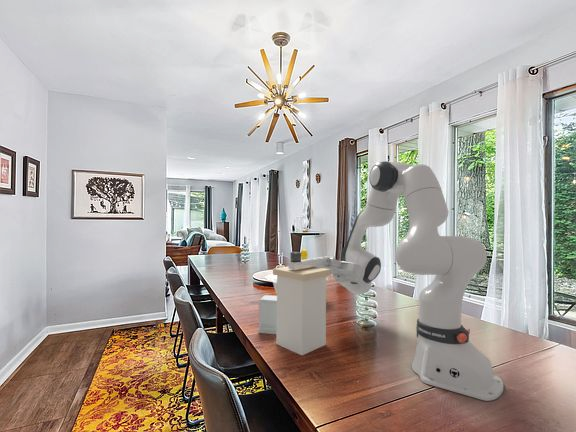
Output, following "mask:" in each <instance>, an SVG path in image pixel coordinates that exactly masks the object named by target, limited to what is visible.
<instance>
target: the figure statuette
mask: <svg viewBox="0 0 576 432" xmlns="http://www.w3.org/2000/svg"><path fill="white" fill-rule="evenodd" d="M303 259H308V251H307V249H302V250H301V260H303Z"/></svg>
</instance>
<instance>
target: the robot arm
mask: <svg viewBox="0 0 576 432" xmlns="http://www.w3.org/2000/svg"><path fill="white" fill-rule="evenodd" d="M368 178H369V184H370V186H371V188H370V190H369V194H368V198H367V202H366V205H365V207H364V209H363V210H362V211H360V212H359V213H358V214H357V216H356V218H355V220H354V222H353V225H352V228H351V230H350V233H349V236H348V239H347V242H346V244H345V245H344V247H343V248H342V250H341V253H340V254H341V255H340V256H341V260H338V259H336V258H335V259H334V258H330V260H329V262H330V263H331V264H328V265H322V266H316V267H320V268H326V269H331V275H332V277H333V280H335V282H337V283H338V284H339V285H340V286H342V287H344V288H345V289H346V290H348V291H349V292H350V293H353V294H355V295H357V296H358V295H359V296H361V295H360V294H364V293H366V292H368V291H369V292H370V290H371V289H372V288H371V287H372V282H373V281H374V280H375V279H376V278H378V276H379V274H380V273H381V269H382V262H381V259H380V257H378V256H377V255H375V254H373V253H371V252H369V251H368V250H366V249H364V248H363V246H362V244H361V243H362V241H363V238H364V235H366V234H365V233H366V232H367V229H368V228H371V227H372V228H373V227H375V228H376V227H384V226H386V225H388V224H390V222H392V221H393V218H394V215H395V213H396V209H397V205H398V199H399V197H400V196H402V195H403V196H404V200H405V201H404V202H405V205H406V209H407V214H408V221H409V222H408V223H409V225H408V230H407V233H406V235H404V237H403V238H402V239H401V240H400V241H399V242H398V244H397V246H396V248H395V252H394V253H395V255H394V256H395V261H396V264H397V266H399V268H400V270H402V271H403V272H405V273H408V274H414V275H420V276H434V275H435V276H434V278H433V280H432V282H431V283H430V284H428V285H427V286H425V287H424V288H422V289H421V290H420V293H419V294H418V318H417V320H416V326H415V328H416V329H415V331H416V338H417V341H416V348H415V352H414V353H415V354H414V358H413V360H412V363H411V368H412V370H413V371H414V372H415V374H417V375H418V376H419V378H420V380H421V382H423V383H424V384H427V385H430V386H434V387H436V388H440V389H443V390H447V391H451V392H453V393H458V394H461V395H464V396H466V397H467V396H468V397H471V398H475V399H478V400H481V401H485V402H486V401H487V402H489V401H490V402H491V401H494V400H497V399H498V398H499V397H501V395H502V394H503V392H504V383H503V381H502V379H501V378H500V377H499V376H497V375H494V371H493V370H494V368H493V365H492V363H491V362H492V361H491V360H490V359H489V357H488V356H487V355H485V354H484V353H483V352H482V351H480V350H479V349H478V348H477V347H476V346H475V345H474V344H473V343H472V342H471V341H470V340H469V339H470V334H471V329H470V328H468V329H467V328H466V327H464V326H463V324H462V310H463V300H464V295H465V292H466V290H467V287H468V286H469V283H470V282H471V280H472V279H473V278H474V276H475V275H476V274H477V273H478V272H480V271H481V270H483V268H484V267H485V266H486V263H487V257H488V256H487V250H486V248H485V246H484V244H483V243H482V242H481V241H480V240H479V239H476V238H471V237H467V236H462V235H454V236H453V235H452V236H450V235H449V236H448V235H446V236H445V235H440V234H439V230H438V229H439V228H438V227H440V226H441V225H444V223H445V222H446V221H447V219H448V217H449V213H450V212H449V208H448V205H447V202H446V199H445V196H444V192H443V190H442V187H441V185H440V182H439V180H438V178H437V176H436V174H435V173H434V171H433V169H432V168H431V167H430V166H428V165H426V164H422V163H421V164H420V163H419V164H418V163H417V164H411V163H407V162H406V163H405V162H400V161H397V162H396V161H394V162H392V161H379V162H376V163H375V164H374V165H373V166H372V167H371V169H370V172H369V177H368ZM369 292H368V293H369ZM366 294H367V293H366ZM364 295H365V294H364Z"/></svg>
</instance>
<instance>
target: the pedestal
mask: <svg viewBox="0 0 576 432" xmlns="http://www.w3.org/2000/svg"><path fill="white" fill-rule="evenodd" d="M272 274H273V275H277V284H276V285H277V290H276V291H277V292H276V296H277V332H276V334H275V335H276V336H275V337H276V341H275V343H276V345H278V346H280V347H282V348H284V349H286V350H288V351H291V352H293V353H295V354H298V355H300V356H304V355H306V354H308V353H311V352H313V351H315V350H317V349H319V348H322V347H325V346H326V345H327V342H326V341H327V339H326V335H327V280H326V277H329V276H331V275H332V274H331V269H326V268H320V267H310V268H305V269H299V270H291V269H288V265H287V266H282V267H276V268H273V269H272Z"/></svg>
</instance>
